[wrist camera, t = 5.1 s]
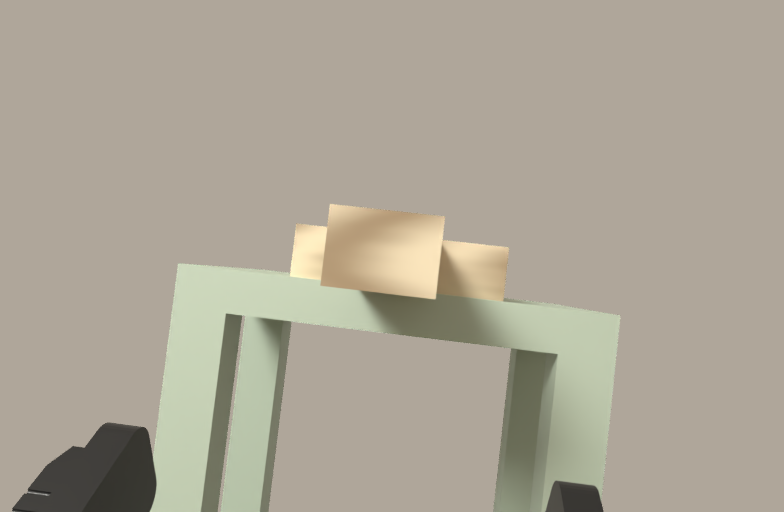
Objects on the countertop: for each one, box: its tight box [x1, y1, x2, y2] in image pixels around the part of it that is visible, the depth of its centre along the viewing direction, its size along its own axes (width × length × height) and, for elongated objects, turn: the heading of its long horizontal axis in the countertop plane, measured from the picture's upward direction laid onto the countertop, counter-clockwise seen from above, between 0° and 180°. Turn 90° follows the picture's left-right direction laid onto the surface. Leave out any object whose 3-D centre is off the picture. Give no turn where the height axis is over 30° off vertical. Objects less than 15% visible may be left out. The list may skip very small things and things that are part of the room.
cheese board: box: [290, 204, 509, 301], centre depth 28 cm, size 10×20×2 cm, turn 177°
